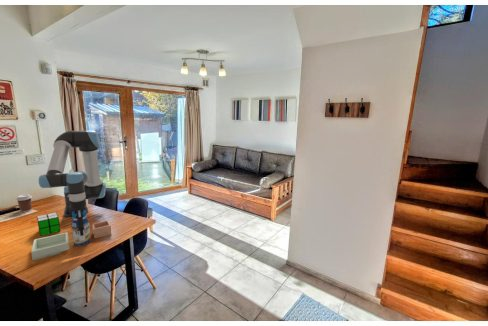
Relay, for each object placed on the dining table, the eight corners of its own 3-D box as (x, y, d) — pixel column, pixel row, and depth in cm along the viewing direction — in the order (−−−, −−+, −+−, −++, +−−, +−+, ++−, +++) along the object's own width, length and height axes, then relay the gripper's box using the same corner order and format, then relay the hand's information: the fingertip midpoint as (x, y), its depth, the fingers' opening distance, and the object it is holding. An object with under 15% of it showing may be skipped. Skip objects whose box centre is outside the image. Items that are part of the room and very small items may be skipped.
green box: (35, 247, 131) (34, 239, 130) (68, 239, 140) (67, 232, 139) (32, 260, 119) (31, 251, 118) (69, 251, 128) (68, 242, 127)
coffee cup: (15, 211, 178) (12, 196, 176) (28, 207, 187) (26, 193, 185) (23, 213, 176) (20, 198, 174) (36, 208, 184) (34, 194, 182)
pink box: (93, 234, 147) (92, 223, 146) (109, 230, 152) (108, 220, 151) (94, 239, 140) (93, 229, 139) (111, 235, 145) (110, 225, 144)
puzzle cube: (58, 226, 157) (56, 212, 155) (60, 231, 150) (58, 216, 148) (38, 230, 150) (36, 216, 148) (40, 236, 143) (37, 221, 141)
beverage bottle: (88, 238, 141) (85, 207, 138) (93, 243, 136) (90, 211, 133) (71, 244, 135) (67, 211, 131) (76, 249, 130) (72, 215, 126)
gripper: (68, 196, 136) (73, 232, 140) (69, 206, 120) (74, 247, 125) (84, 193, 140) (88, 229, 145) (87, 203, 125) (91, 242, 129)
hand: (82, 237), depth 135 cm, fingers closed on beverage bottle, 7 cm apart
